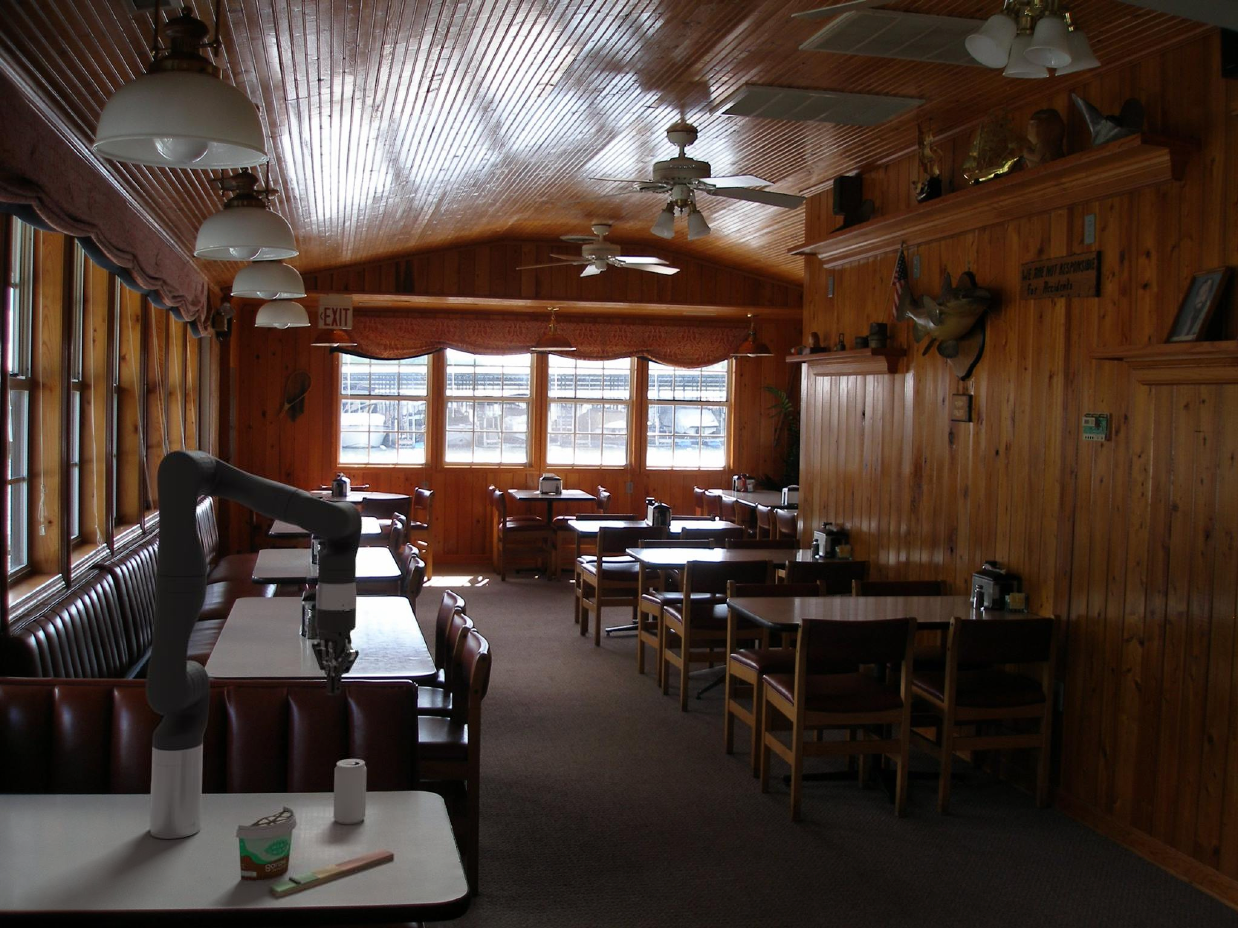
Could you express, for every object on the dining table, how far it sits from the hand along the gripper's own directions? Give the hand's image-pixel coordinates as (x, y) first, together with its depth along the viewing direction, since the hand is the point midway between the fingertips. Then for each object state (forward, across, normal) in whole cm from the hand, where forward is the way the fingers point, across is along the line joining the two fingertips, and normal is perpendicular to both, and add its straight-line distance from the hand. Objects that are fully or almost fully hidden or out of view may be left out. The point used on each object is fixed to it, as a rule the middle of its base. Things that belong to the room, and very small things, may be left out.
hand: (333, 694), depth 207 cm
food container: (+29, +5, -15) cm, 33 cm away
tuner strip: (+29, +14, -8) cm, 33 cm away
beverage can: (+29, -8, +10) cm, 32 cm away
